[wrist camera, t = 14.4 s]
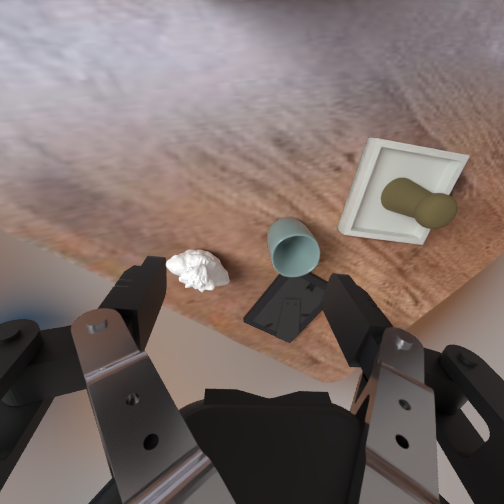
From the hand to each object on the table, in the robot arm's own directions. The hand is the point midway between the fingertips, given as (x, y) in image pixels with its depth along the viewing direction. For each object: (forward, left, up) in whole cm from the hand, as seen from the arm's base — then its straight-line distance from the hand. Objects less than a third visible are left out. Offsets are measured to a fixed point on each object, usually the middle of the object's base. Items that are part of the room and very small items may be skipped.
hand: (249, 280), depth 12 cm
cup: (+10, +10, -33) cm, 36 cm away
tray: (0, +28, -33) cm, 43 cm away
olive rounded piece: (0, +29, -32) cm, 43 cm away
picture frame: (+27, +15, -34) cm, 46 cm away
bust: (+18, -5, -33) cm, 38 cm away
